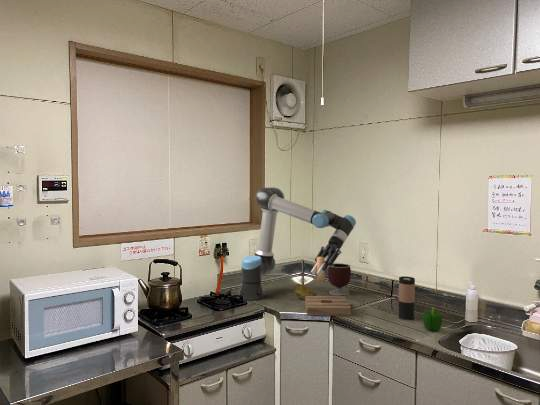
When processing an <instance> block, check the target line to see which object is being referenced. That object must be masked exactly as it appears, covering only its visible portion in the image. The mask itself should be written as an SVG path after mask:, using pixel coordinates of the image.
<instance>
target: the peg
mask: <svg viewBox="0 0 540 405" xmlns="http://www.w3.org/2000/svg"><path fill="white" fill-rule="evenodd" d="M325 259H326V258H325V257H317V272H318V270H319V269H320V267H321V266H322V264H323V263H324V262H325V261H326V260H325ZM324 264H325V263H324ZM317 272H316V281H321V282H323V281H325V280H326V277H325V276H326V275H325V273H326V270H325V271H324V272H323V273H322V275H321V276H319V275H318V274H317Z"/></svg>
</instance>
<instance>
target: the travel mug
mask: <svg viewBox="0 0 540 405" xmlns="http://www.w3.org/2000/svg"><path fill="white" fill-rule="evenodd" d="M415 282H416V278H415V277H413V276H399V277H398V299H397V300H398V318H399V320H403V321H412V320H414V319H415V303H416V302H415V301H416V299H415V298H416V297H415V296H416V294H415V293H416V292H415V290H416V289H415V288H416V286H415V285H416V283H415Z"/></svg>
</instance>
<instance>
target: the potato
mask: <svg viewBox="0 0 540 405" xmlns="http://www.w3.org/2000/svg"><path fill="white" fill-rule="evenodd" d="M293 291H294V294H295V295H296V296H297V297H299V298H300V299H301V300H304V301H305V296H317V294H316V292H315V291H313V290H312V289H310V288H309V287H307V286H306V285H305V284H296V285H295V286H294V288H293Z"/></svg>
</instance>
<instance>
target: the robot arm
mask: <svg viewBox="0 0 540 405" xmlns="http://www.w3.org/2000/svg"><path fill="white" fill-rule="evenodd" d="M254 199H255V202H256V204H257V205H258V206H259V207H260V209H261V211H262V217H261V224H260V232H259V238H258V239H259V240H258V247H257V250H255V253H254V255H250V256H249V255H248V256H245V257H243V258H242V260H241V285H240V288H239V291H238V296H239V295H242V296H243V299H242V300H244V301H257V300H261V299H264V298H265V291H264V286H263V285H262V277H263V276H265V275H269V274H270V273H272V272H273V271H274V269H275V268H276V259H275V257H274V256H275V254H274V253H273V245H274V240H275V239H274V237H275V230H276V221H277V216H278V213H282V214H285V215H288V216H291V217H292V218H295V219H299V220H301V221H303V222H305V223H309V224H310V225H313V226H314V227H315V228H317V229H324V228H328V227H331V228H333V229H335V230H334V232H333V233H332V235H331V236H330V238H329V240H328V243H327V245H326V246H323V245H322V246H321V247H320V250H319V251H318V253H317V255H316V257H315V258H314V262H315V264H314V265H313V266H312V269H311V270H310V273H311V274H312V275H313V276H315V275H317V274H318V275H319V276H321V275H322V273H323V272H324V271H325V272H326V270H327V268H329V265H330V266H332V264H335V262H336V260H337V258H338V257H339V256H340V255H341V253H342V250H341V248H342V247H343V245H344V243H345V242H346V240H347V239H348V237H349V235H350V234H351V232H352V231H353V230H354V228H355V226H356V224H357V221H356V219H355V218H354V217H353V216H352V215H349V214H346V215H344V216H341V215H338V214H336V213H334V212H332V211H330V210H327V209H323V210H322V211H318V210H315V209H313V208H309V207H307V206H304V205H302V204H299V203H297V202H293V201H291V200H288V199H286V198H285V195H284V192H283V191H282V190H281V189H280V188H278V187H261V188H260V189H258V190H257V191H256V193H255V195H254ZM317 257H325V259H326V260H325V262H324V263H325V264H324V263H323V264H322V266H321V267H320V269H319V270H318V272H317Z"/></svg>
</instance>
